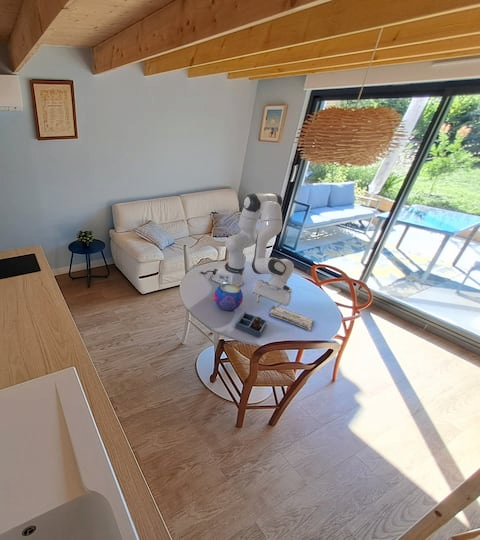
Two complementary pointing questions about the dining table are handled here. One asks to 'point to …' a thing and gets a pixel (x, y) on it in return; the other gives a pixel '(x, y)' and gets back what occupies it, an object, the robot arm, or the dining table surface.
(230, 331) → the dining table surface
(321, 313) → the dining table surface
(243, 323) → the grid
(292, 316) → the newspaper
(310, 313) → the dining table surface
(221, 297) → the ceramic pot
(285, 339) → the dining table surface
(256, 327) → the dark brown cylinder
